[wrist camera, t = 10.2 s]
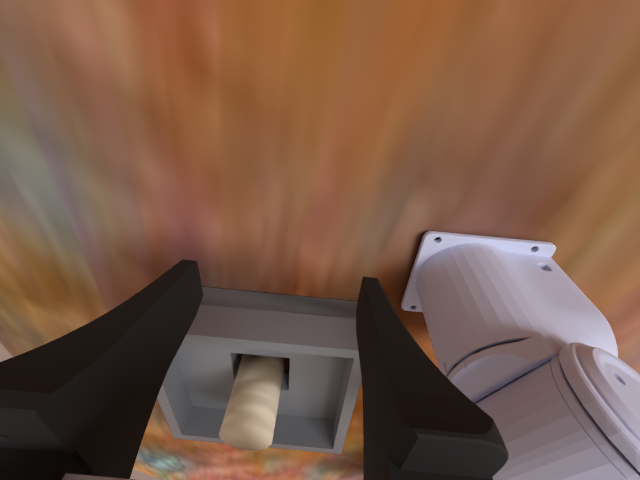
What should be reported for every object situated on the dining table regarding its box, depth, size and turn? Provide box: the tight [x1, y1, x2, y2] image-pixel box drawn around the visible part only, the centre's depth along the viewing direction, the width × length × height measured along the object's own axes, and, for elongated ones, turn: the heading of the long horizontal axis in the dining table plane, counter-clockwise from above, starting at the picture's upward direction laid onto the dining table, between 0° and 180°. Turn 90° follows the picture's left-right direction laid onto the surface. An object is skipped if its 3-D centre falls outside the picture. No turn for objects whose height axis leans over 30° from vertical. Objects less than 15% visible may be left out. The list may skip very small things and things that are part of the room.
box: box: [157, 287, 362, 454], centre depth 30 cm, size 18×18×5 cm
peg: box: [219, 354, 286, 450], centre depth 29 cm, size 4×4×8 cm
